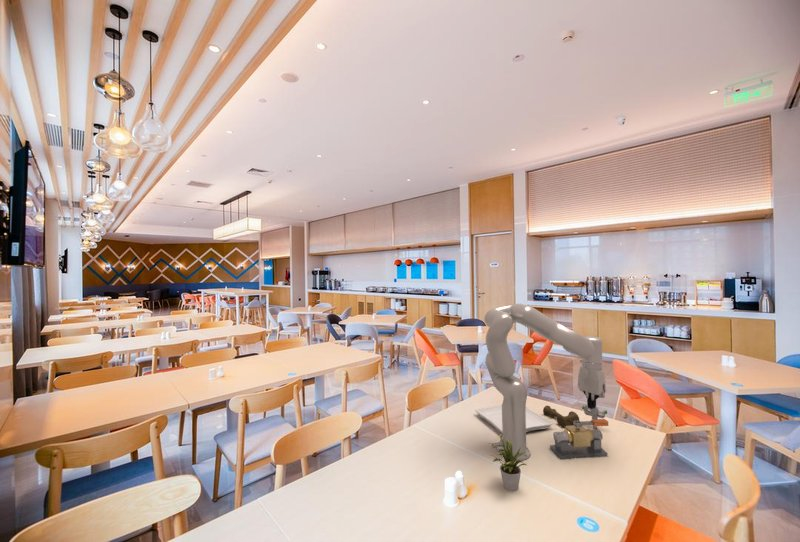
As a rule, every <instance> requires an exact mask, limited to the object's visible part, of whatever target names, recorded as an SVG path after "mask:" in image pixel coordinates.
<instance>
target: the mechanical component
mask: <svg viewBox="0 0 800 542" xmlns="http://www.w3.org/2000/svg"><path fill="white" fill-rule="evenodd" d="M581 409H582V410H583V411H584V414H585V415H586V416H590V417H591V420H593V419H605V417H606V415H607V414H608V410H606V409H602V410H601V411H600V410H599V408H598V406H596V408H593V409H590V408H588V405H587V404H584V405H582V407H581ZM592 428H593V429H592V430H596V429H597V428H598V426H595V427H594V426H593V425H592Z"/></svg>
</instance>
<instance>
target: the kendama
mask: <svg viewBox="0 0 800 542" xmlns="http://www.w3.org/2000/svg"><path fill="white" fill-rule="evenodd" d="M542 411H543V412H542V414H543V415H544V416H549V417H550V418H556V423H557V425H558V426H559V427H560V426H561V427H560V428H562V429H563V428H564V429H566V426H568V424H573V421H575V420H579V421H580V417H579V415H578V414H577V412H575V411H572V410H571V411H569V412H568V414H567V415H566V416H565V415H562V414H560V413H559V412H558V411H557V410H556V408H552V407H551V406H550V405H545V406H544V407H543V410H542Z"/></svg>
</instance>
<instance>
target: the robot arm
mask: <svg viewBox="0 0 800 542" xmlns="http://www.w3.org/2000/svg"><path fill="white" fill-rule="evenodd" d="M483 321H484V323H485V324H486V326H487V327H488V329H487V332H486V334H485V335H486V336H485V345H486V348H487V354H486V356H485V365H486V368H487V370H488V373H489V377H490V379H491V382H492V384H493V386H494V388H495V389H496V390H497V391H498V392H499V393H500V394H501V395H502V397H503V400H502V404H501V405H502V433H501V435H502V437H501V438H502V439H503V441H504V444H505V448H506V439H508V440H510V442H511V444H512V455H513V456H514V455H516V454H517V452H518V450H519V449H520V447H521V446H522V447H521V449H520V451H519V453H523V452H524V451H528V452H525V453H523V454H522V455H521V456H519V457H517V458H516V459H517V460H516V461H518V460H519V461H524V460H527V459H529V458H530V457H531V450H530V448H529V447H528V446H527V432H526V407H527V405H526V404H527V398H528V388H527V386H526V384H525V383H524V382H523V381H522V380H521V379H520V378H518V377H517V376H515V375H514V374H515V372H516V363H515V360H514V358H513V356H512V352H511V350H510V347H509V344H508V340H507V339H508V335H509V333H510V331H511V329H512V328H513V326H514V324H520V325H522V326H523V327H525V328H527V329H529V330H530V331H533V332H534V333H536V334H537V335H539V336H541V337H542V338H544V339H545V340H548V341H550V342H553V343H555V344H557V345H560V346H562V348H563V350H564V351H566V352H568V353H570V354H573V355H575V356H577V357H580V358H581V359H580V360H579V363H580V364H581V366H580V367H579V371H578V376H577V388H578V390H579V392H582V393H583V395H585V398H586V399H587V401H586V402H587V403H586V405H588V408H590V409H593V408H596V407H597V400H598V399H604V398H606V395H605V393H606V391H607V390H606V388H607V387H606V376H605V371H604V370H603V339H602V338H600V337H599V336H593V335H586V336H583V335H582V334H580V333H578V332H576V331H574V330H572V329H570V328H568V327H567V326H565V325H563V324H561V323H559V322H558V321H556V320H554V319H553V318H551V317H550V316H547V315H546V314H544V313H543V312H541V311H539V310H537V309H536V308H534V307H533V306H530V305H527V304H522V303H514V304H510V305H509V304H508V305H506V306H505V305H504V306H500V307H496V308H491V309H490V310H488V311H486V313H485V314H484V320H483ZM499 440H500V441H497V442H491V444H490V446H491V448H492V449H496V451H498V453H499V452H502V451H504V448H503V445H502V442H501V439H500V438H499ZM513 441H514V442H513ZM493 444H494V445H496V446H497V447H496V446H494V445H493ZM499 449H500V450H501V451H499ZM508 449H509V446H508ZM506 451H507V450H506Z"/></svg>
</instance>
